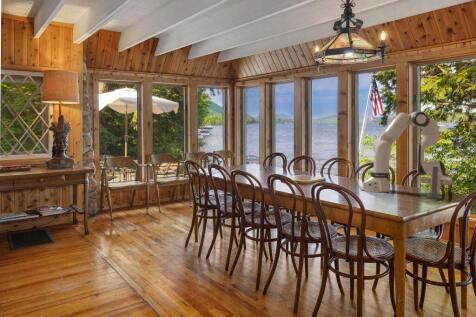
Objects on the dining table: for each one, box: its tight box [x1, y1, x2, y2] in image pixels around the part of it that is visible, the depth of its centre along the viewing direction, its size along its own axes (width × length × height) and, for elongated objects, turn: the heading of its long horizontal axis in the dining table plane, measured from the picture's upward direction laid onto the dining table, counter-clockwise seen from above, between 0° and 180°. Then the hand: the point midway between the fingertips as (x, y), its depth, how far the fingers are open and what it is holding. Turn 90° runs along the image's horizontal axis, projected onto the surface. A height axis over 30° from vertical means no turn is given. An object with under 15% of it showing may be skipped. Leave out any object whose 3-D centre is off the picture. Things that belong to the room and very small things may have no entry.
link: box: [429, 173, 441, 195], centre depth 267 cm, size 6×5×14 cm
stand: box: [426, 166, 443, 200], centre depth 264 cm, size 9×11×22 cm
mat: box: [418, 192, 432, 197], centre depth 276 cm, size 8×8×1 cm
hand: (435, 182), depth 269 cm, fingers open, 8 cm apart
